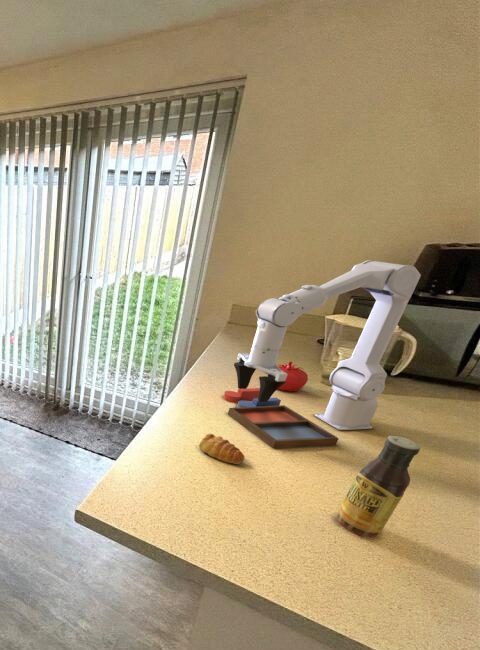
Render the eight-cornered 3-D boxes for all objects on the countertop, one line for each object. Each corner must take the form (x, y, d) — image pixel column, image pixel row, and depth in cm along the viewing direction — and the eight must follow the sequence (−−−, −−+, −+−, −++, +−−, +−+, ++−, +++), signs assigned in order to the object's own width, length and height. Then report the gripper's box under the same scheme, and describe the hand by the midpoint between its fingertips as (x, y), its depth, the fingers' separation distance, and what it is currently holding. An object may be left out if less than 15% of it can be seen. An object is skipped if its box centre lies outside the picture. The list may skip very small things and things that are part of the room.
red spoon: (254, 394, 125) (257, 386, 124) (265, 400, 121) (267, 392, 120) (220, 396, 125) (222, 387, 124) (229, 402, 121) (231, 393, 120)
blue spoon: (270, 404, 119) (273, 395, 118) (281, 411, 115) (284, 402, 114) (233, 405, 119) (236, 397, 118) (243, 413, 115) (246, 404, 114)
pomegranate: (305, 397, 123) (315, 370, 119) (266, 390, 128) (274, 364, 124) (301, 385, 131) (310, 359, 127) (264, 379, 136) (272, 354, 132)
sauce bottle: (326, 516, 78) (364, 431, 70) (355, 513, 78) (396, 428, 70) (359, 542, 72) (404, 452, 64) (390, 539, 72) (439, 450, 64)
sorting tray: (282, 411, 115) (284, 405, 114) (336, 445, 99) (339, 438, 99) (227, 413, 115) (229, 407, 114) (273, 448, 99) (275, 441, 98)
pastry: (248, 459, 95) (252, 446, 93) (233, 469, 92) (237, 456, 90) (209, 441, 102) (212, 429, 101) (194, 449, 99) (197, 437, 97)
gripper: (231, 338, 105) (220, 383, 111) (273, 358, 92) (257, 408, 97) (257, 337, 106) (244, 382, 111) (301, 356, 92) (284, 407, 98)
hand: (252, 394), depth 104 cm, fingers open, 7 cm apart
